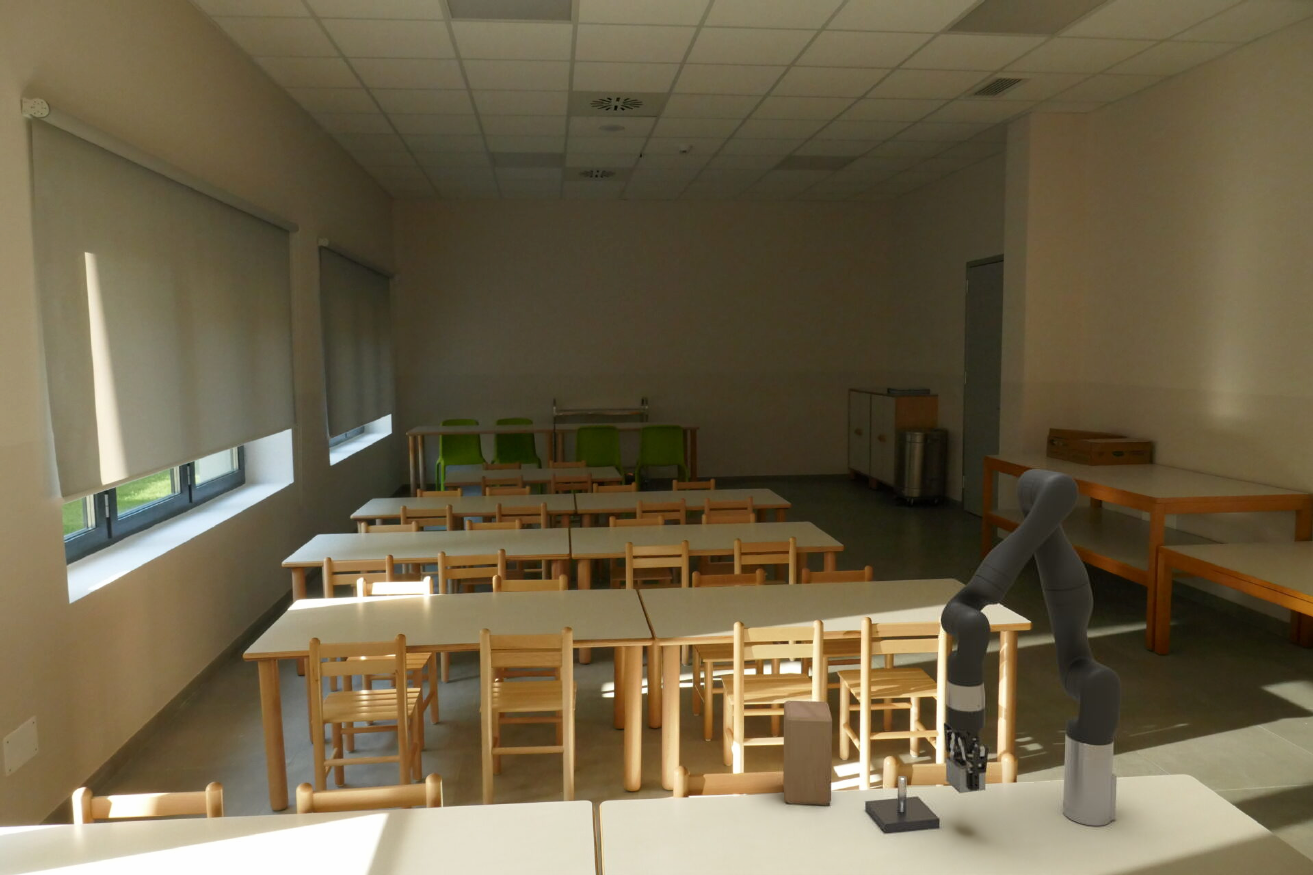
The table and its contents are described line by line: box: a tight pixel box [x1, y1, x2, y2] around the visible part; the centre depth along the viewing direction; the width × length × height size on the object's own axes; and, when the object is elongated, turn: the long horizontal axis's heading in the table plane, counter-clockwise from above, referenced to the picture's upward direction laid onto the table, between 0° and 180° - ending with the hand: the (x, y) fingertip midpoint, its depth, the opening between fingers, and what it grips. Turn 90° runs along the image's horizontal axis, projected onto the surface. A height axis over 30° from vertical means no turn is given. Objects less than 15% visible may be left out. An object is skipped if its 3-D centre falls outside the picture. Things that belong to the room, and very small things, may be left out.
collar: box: [945, 754, 986, 794], centre depth 191 cm, size 6×6×5 cm
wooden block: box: [782, 700, 833, 806], centre depth 207 cm, size 10×10×20 cm
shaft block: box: [864, 775, 941, 834], centre depth 196 cm, size 12×10×9 cm
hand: (965, 782), depth 191 cm, fingers closed on collar, 5 cm apart
